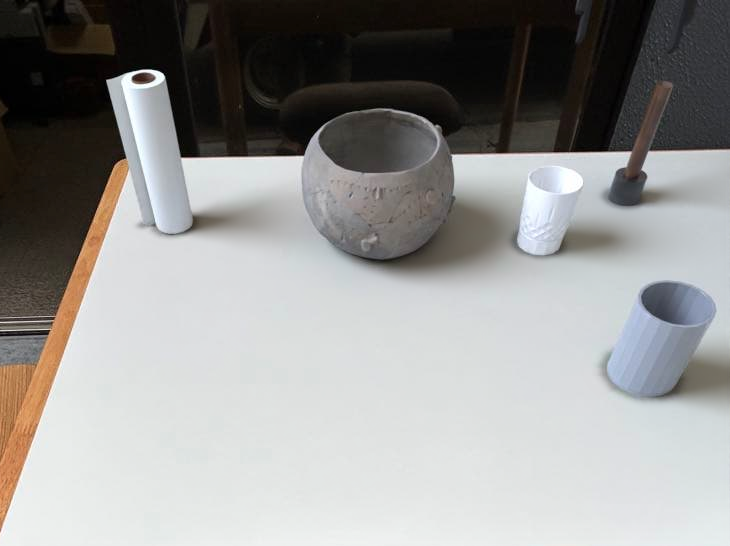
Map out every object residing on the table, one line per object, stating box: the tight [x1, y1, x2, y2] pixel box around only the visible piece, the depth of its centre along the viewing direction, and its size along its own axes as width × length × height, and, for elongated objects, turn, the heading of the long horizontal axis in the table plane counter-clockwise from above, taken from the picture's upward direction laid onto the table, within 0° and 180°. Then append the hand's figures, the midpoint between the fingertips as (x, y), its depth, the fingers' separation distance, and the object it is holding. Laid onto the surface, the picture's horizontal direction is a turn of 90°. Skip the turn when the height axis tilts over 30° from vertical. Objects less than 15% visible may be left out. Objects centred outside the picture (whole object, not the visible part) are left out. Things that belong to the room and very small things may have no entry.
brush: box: [607, 80, 674, 207], centre depth 102 cm, size 5×5×17 cm
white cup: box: [516, 165, 585, 256], centre depth 99 cm, size 8×8×10 cm
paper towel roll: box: [106, 69, 194, 235], centre depth 99 cm, size 7×6×21 cm
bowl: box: [300, 107, 457, 261], centre depth 99 cm, size 23×23×15 cm
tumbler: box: [606, 279, 717, 398], centre depth 82 cm, size 9×9×11 cm
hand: (625, 46), depth 97 cm, fingers open, 13 cm apart
